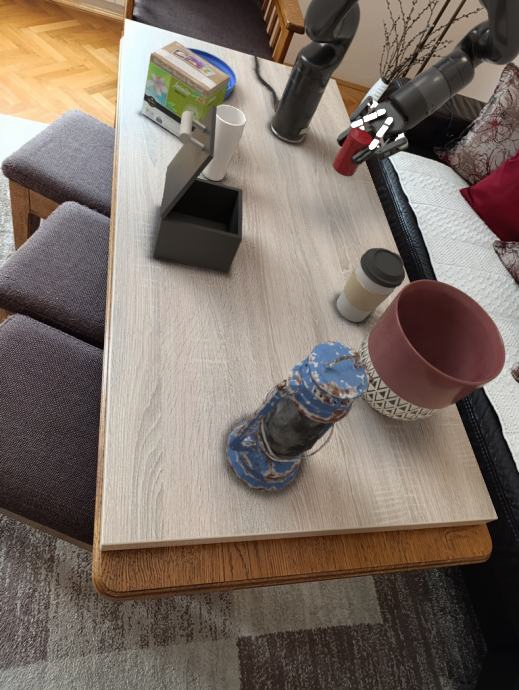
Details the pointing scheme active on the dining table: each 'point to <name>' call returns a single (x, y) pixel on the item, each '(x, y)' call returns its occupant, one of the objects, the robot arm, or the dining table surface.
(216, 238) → the dark box
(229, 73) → the bowl
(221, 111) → the white vase
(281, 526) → the dining table surface
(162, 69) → the tea box
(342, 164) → the red cup
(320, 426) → the lantern
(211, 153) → the box lid
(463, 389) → the planter
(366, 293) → the coffee cup
